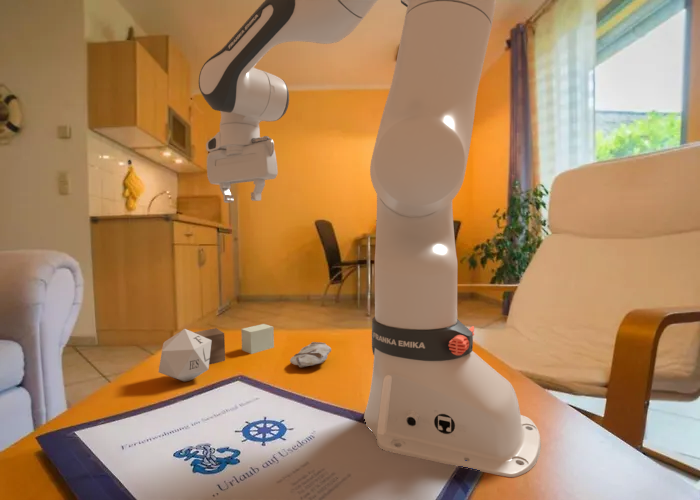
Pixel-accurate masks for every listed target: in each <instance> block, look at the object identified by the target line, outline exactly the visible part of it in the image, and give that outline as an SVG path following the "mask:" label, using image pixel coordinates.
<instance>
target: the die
mask: <svg viewBox="0 0 700 500" xmlns="http://www.w3.org/2000/svg"><path fill="white" fill-rule="evenodd" d="M194 332H195V331H191V330H188V329H186V328H183V329H181V330H180V331H179V332H177V333H176V334H174V335H173V336H171V337H170V338H168V339H167V340H165V341H164V342H163V344H162V348H161V355H160V361H159V366H158V373H159V374H162V375H165V376H167V377H170V378H173V379H175V380H178V381H181V382H184V383H185V382H190V381H192V380H194V379H195V378H197V377H199V376H200V375H202V374H203V373H205V372H207V371H208V370H209V367H210V364H209V359H210V351H211V342H212V340H210V339H208V338H205V337H203V336H201V335H198V334H196V333H194Z"/></svg>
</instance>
